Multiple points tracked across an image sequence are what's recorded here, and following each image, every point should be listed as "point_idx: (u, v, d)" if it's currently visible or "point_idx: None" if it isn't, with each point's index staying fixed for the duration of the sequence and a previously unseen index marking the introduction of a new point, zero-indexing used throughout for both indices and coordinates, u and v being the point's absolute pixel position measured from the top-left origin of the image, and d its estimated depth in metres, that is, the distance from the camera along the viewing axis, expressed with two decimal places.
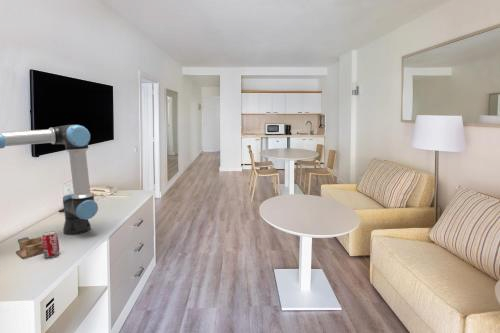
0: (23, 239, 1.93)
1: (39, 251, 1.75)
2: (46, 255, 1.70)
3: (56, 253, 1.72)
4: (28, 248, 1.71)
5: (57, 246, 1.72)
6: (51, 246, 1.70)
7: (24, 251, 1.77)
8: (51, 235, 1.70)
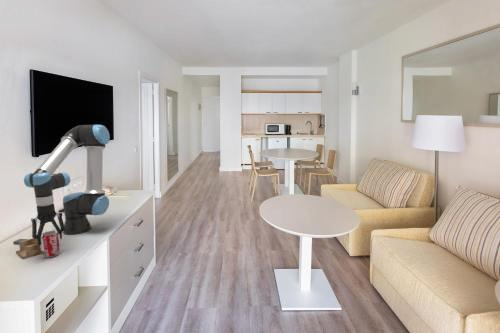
0: (20, 240, 1.91)
1: (39, 251, 1.75)
2: (46, 255, 1.70)
3: (56, 253, 1.72)
4: (28, 248, 1.71)
5: (57, 246, 1.72)
6: (51, 246, 1.70)
7: (24, 251, 1.77)
8: (51, 235, 1.70)
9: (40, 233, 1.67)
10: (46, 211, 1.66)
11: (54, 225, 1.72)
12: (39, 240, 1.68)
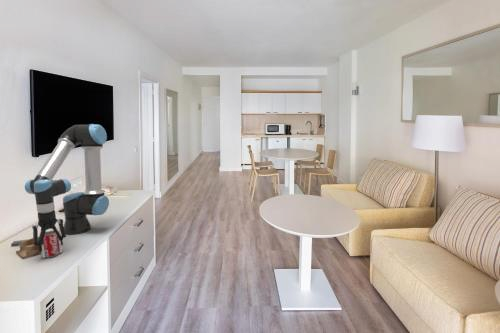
0: (18, 242, 1.89)
1: (39, 251, 1.75)
2: (46, 255, 1.70)
3: (56, 253, 1.72)
4: (28, 248, 1.71)
5: (57, 246, 1.72)
6: (51, 246, 1.70)
7: (24, 251, 1.77)
8: (51, 235, 1.70)
9: (41, 240, 1.68)
10: (47, 218, 1.67)
11: None
12: (40, 247, 1.68)
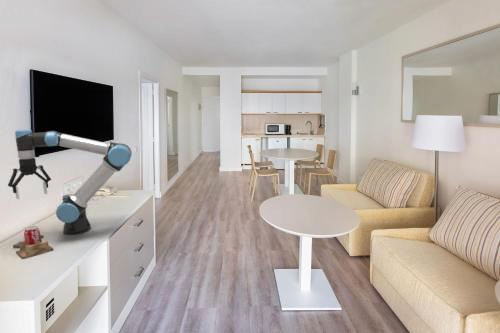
0: None
1: (39, 251, 1.75)
2: None
3: None
4: (28, 248, 1.71)
5: (39, 241, 1.78)
6: (33, 240, 1.75)
7: (24, 251, 1.77)
8: (33, 230, 1.75)
9: (17, 182, 1.81)
10: (27, 164, 1.82)
11: (38, 176, 1.89)
12: (14, 188, 1.81)
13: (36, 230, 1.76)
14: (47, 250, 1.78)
